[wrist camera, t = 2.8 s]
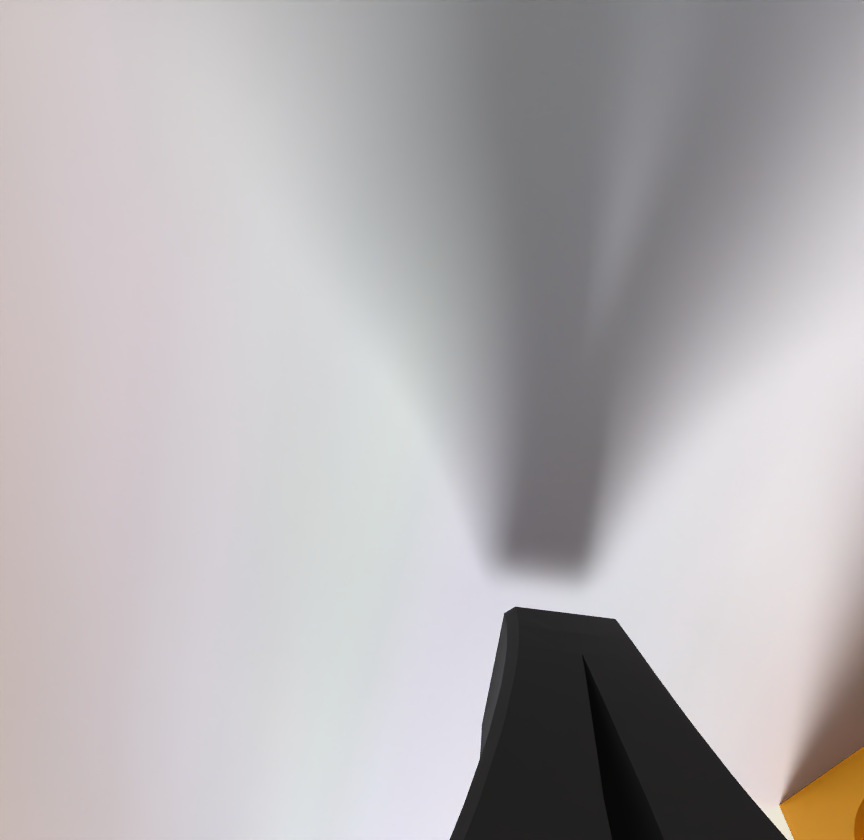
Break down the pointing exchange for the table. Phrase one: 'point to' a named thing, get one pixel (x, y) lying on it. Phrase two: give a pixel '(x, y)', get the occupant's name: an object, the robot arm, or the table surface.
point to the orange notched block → (830, 804)
